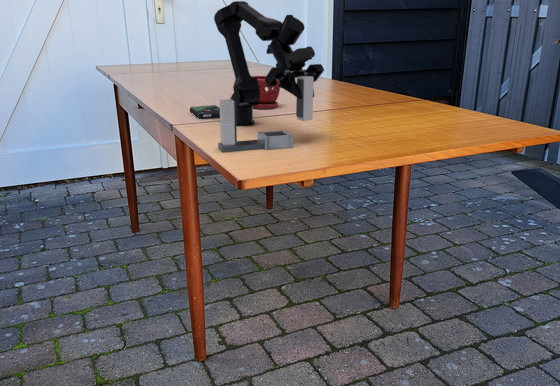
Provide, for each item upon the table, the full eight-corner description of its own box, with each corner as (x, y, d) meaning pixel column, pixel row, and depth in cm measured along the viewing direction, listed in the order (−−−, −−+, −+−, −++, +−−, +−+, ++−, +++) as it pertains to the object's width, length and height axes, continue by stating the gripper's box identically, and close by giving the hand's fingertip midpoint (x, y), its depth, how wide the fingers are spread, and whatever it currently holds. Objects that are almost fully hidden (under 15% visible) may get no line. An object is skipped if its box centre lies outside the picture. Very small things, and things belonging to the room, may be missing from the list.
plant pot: (276, 110, 208) (276, 79, 204) (243, 109, 211) (243, 78, 207) (283, 105, 220) (283, 75, 216) (252, 103, 223) (251, 74, 219)
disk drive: (227, 119, 196) (215, 111, 208) (227, 111, 195) (215, 104, 207) (199, 121, 192) (189, 113, 204) (199, 113, 191) (188, 106, 203)
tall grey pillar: (295, 119, 159) (296, 76, 155) (305, 117, 161) (306, 75, 157) (301, 121, 157) (302, 77, 153) (312, 119, 159) (313, 76, 155)
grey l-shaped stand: (217, 146, 155) (215, 98, 151) (284, 141, 162) (284, 94, 157) (223, 153, 149) (222, 102, 144) (292, 147, 155) (293, 99, 151)
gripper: (270, 38, 149) (295, 83, 144) (321, 36, 160) (345, 77, 155) (254, 64, 157) (277, 107, 153) (303, 60, 168) (326, 101, 164)
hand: (307, 97), depth 156 cm, fingers closed on tall grey pillar, 4 cm apart
